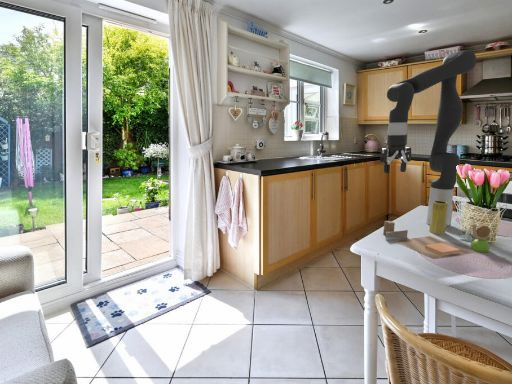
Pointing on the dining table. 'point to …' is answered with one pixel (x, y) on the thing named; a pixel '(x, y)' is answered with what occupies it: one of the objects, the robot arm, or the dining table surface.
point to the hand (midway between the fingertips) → (394, 172)
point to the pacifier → (467, 235)
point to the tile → (442, 249)
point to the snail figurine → (480, 238)
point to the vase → (438, 217)
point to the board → (420, 243)
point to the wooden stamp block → (391, 233)
